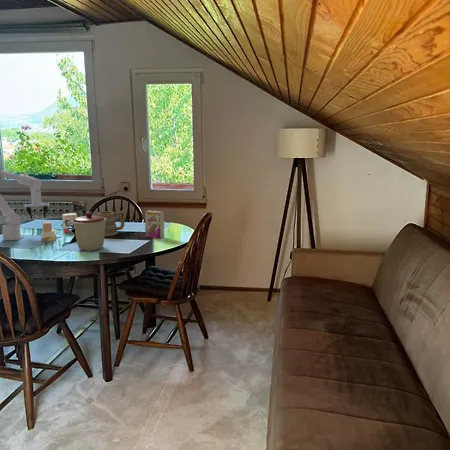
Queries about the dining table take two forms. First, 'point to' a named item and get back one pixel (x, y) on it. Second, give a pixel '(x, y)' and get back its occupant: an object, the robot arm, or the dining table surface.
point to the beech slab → (48, 238)
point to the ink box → (68, 221)
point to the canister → (89, 231)
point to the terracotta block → (47, 226)
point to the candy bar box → (154, 224)
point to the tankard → (112, 222)
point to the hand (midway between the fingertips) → (38, 218)
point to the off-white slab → (48, 233)
